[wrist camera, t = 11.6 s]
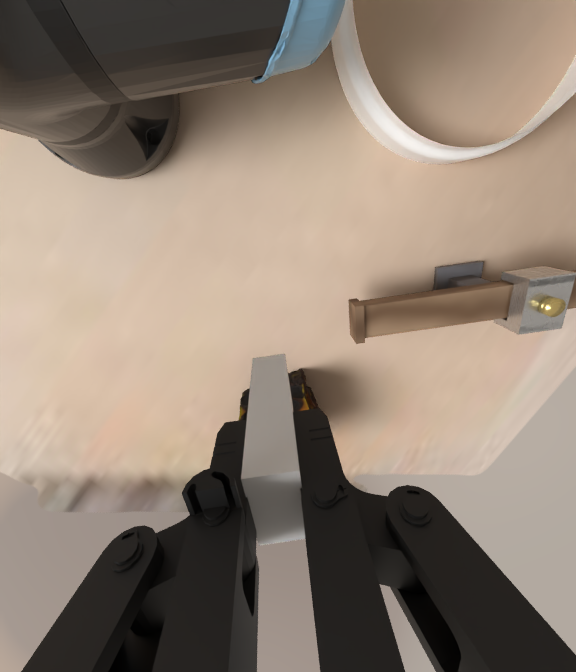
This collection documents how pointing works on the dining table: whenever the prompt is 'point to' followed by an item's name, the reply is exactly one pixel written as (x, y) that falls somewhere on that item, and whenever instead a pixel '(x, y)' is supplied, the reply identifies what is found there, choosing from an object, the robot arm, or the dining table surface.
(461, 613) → the robot arm
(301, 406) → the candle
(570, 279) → the rider
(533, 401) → the dining table surface
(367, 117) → the white hoop ring
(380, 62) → the dining table surface
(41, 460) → the dining table surface
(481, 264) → the beam
